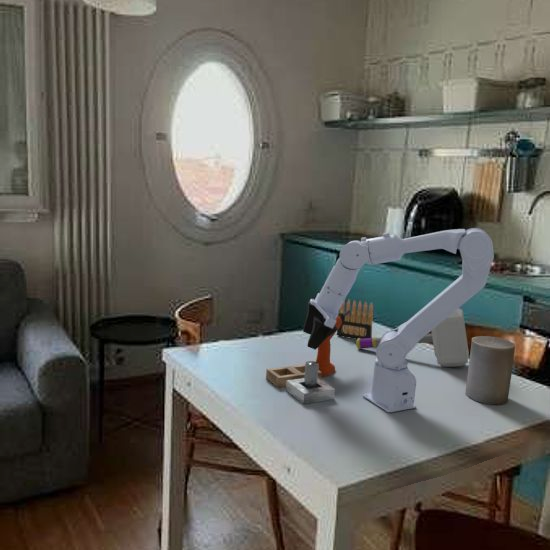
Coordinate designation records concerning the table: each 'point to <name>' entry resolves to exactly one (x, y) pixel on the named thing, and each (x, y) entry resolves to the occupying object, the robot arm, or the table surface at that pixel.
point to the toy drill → (328, 349)
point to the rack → (286, 374)
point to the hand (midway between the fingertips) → (309, 340)
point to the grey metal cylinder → (311, 374)
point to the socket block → (310, 391)
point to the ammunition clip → (356, 321)
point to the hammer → (440, 341)
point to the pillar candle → (490, 370)
